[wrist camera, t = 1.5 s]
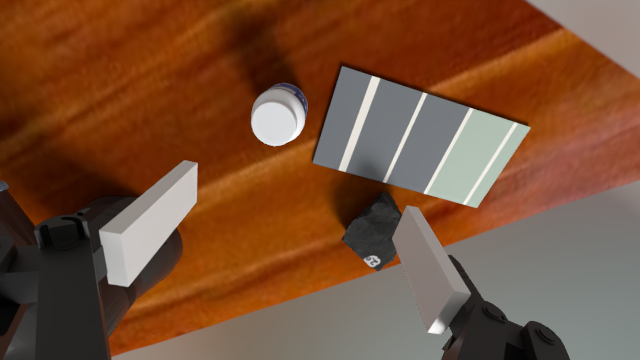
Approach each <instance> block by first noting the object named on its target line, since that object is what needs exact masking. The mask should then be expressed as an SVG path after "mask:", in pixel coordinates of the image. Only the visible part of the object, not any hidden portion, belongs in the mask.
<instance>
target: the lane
mask: <svg viewBox="0 0 640 360" xmlns="http://www.w3.org/2000/svg"><path fill="white" fill-rule="evenodd" d="M530 128H531V127H528V126H525V125H522V124H519V123H516V122H513V121H510V120H507V119H504V118H501V117H497V116H494V115H491V114H488V113H485V112H482V111H479V110H476V109H473V108H470V107H467V106H464V105H461V104H458V103H454V102H451V101H448V100H445V99H442V98H439V97H436V96H433V95H430V94H427V93H424V92H421V91H418V90H415V89H411V88H408V87H405V86H402V85H399V84H396V83H393V82H390V81H387V80H384V79H381V78H378V77H375V76H371V75H368V74H365V73H362V72H359V71H356V70H353V69H350V68H347V67H344V66H342V67H341V71H340V74H339V77H338V80H337V84H336V87H335V90H334V94H333V97H332V100H331V103H330V107H329V110H328V113H327V116H326V120H325V123H324V126H323V130H322V133H321V136H320V139H319V143H318V146H317V149H316V152H315V156H314V159H313V163H314V164H318V165H322V166H325V167H329V168H333V169H336V170H340V171H344V172H347V173H351V174H355V175H358V176H362V177H366V178H369V179H373V180H376V181H380V182H384V183H387V184H391V185H395V186H398V187H402V188H406V189H409V190H413V191H417V192H420V193H424V194H428V195H431V196H435V197H439V198H442V199H446V200H450V201H453V202H457V203H461V204H464V205H468V206H472V207H475V208H477V207H478V206H479V204H480V203H481V201H482V200H483V198H484V197H485V195H486V194H487V192H488V191H489V189H490V188H491V186H492V185H493V183H494V182H495V180H496V179H497V177H498V176H499V174H500V173H501V171H502V170H503V168H504V167H505V165H506V164H507V162H508V161H509V159H510V158H511V156H512V155H513V153H514V152H515V150H516V149H517V147H518V146H519V144H520V143H521V141H522V140H523V138H524V137H525V135H526V134H527V132H528V131H529V129H530Z"/></svg>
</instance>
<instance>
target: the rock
mask: <svg viewBox="0 0 640 360" xmlns="http://www.w3.org/2000/svg"><path fill="white" fill-rule="evenodd" d="M401 217H402V214H401V212H400V211H399V209H398V207H397V205H396V204H395V201H394V199H393V198H392V197H391V196H389V195H388V194H387V193H386V192H383V193H381V194H380V195H379V196H378V197H377V198H376V199H375V201H374V202H373V203H372V204H370V205H369V206H368V207H367V208H366V209H365V210H364V211H363V212H362V214H360V215H359V216H358V217H357V218H356V219H354V220H353V221H352V222H351V224H350V225H349V227H348V228H347V229H346V231H345V235H344V236H343V237H342V241H343V242H345V243H346V244H347V245H348V246H349V247H350V248H352V250H353V251H354V252H355V253H356V254H358V255H359V257H360V258H362V259H363V260H364V261H365V262H366V263H367V264H368V265H369V266H370V267H372V268H374V269H376V270H377V271H380V270H381V269H382V268H383V266H384V265H385V264H388V263H389V262H391V261H393V260H394V257H395V255H396V248H395V245H394V243H393V240H392V237H393V235H394V233H395V231H396V228H397V226H398V224H399V222H400V219H401Z"/></svg>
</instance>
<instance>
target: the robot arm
mask: <svg viewBox="0 0 640 360" xmlns="http://www.w3.org/2000/svg"><path fill="white" fill-rule="evenodd" d="M197 164H198V163H195V162H191V161H186V160H184V161H183V162H181V163H180V164H179V165H178V166H177V167H175V168H174V169H173V170H172V171H170V172H169V173H168V174H167V175H166V176H164V177H163V178H162V179H161V180H160V181H158V182H157V183H156V184H155V185H153V186H152V187H151V188H150V189H149V190H147V191H146V192H145V193H144V194H143V195H141V196H140V197H139V198H135V197H123V196H106V197H101V198H97V199H95V200H93V201H91V202H89V203H88V204H86V205H85V206H83V207H82V208H80V209H79V210H78V211H76V212H75V213H74V214H73V215H60V216H56V217H52V218H49V219H47V220H45V221H42V222H41V223H40V224H38V225H37V226H36V227H35V225H34V224H33V223H32V222H31V220H30V219H29V218H28V216H27V215H26V214H25V213H24V211H23V210H22V209H21V208H20V206H19V205H18V204H17V202H16V201H15V200H14V199H13V197H12V196H11V195H10V193H9V192H8V191H7V190H6V189H7V188H9V186H8V185H7V183H6V182H4V181H1V180H0V360H111V354H110V347H109V341H108V338H109V336H110V335H111V334H112V332H113V331H114V329H115V328H116V327H117V325H118V324H119V322H120V321H121V320H122V318H123V317H124V315H125V314H126V313H127V311H128V310H129V308H130V307H131V306H132V304H133V303H134V302H135V300H136V299H138V298H139V297H140V296H142V295H143V294H144V293H146V292H147V291H148V290H150V289H151V288H152V287H154V286H155V285H156V284H157V283H159V282H160V281H161V280H163V279H164V278H165V277H167V276H168V275H169V274H170V273H171V271H172V270H173V269H174V267H175V266H176V264H177V263H178V261H179V260H180V258H181V255H182V240H181V237H180V235H179V233H178V231H177V229H176V227H177V226H178V225H179V223H180V222H181V221H182V220H183V218H184V217H185V216H186V215H187V213H188V212H189V211H190V210H191V208H192V207H193V206H194V205H195V203H196V202H197ZM392 240H393V243H394V245H395V248H396V251H397V253H398V256H399V258H400V261H401V264H402V266H403V269H404V272H405V274H406V277H407V280H408V282H409V285H410V287H411V290H412V293H413V295H414V298H415V301H416V303H417V306H418V308H419V311H420V314H421V316H422V319H423V321H424V324H425V327H426V329H427V332H429V333H436V334H444V332H445V331H446V329H447V328H448V327H450V329H451V331H452V333H453V335H452V336H451V337H450V339H449V340H448V341H447V343H446V344H445V346H444V347H443V348H442V349H443V350H444V354H443V356H442V359H441V360H570V358H569V356H568V353H567V351H566V349H565V346H564V344H563V343H562V341H561V339H560V338H559V337H558V336H557V335H556V334H555V333H554V332H553V331H552V330H551V329H549V328H548V327H546V326H544V325H542V324H541V323H538V322H535V321H529V322H528V323H527V324H526V325H525V326H524V327H522V326H520V325H518V324H515V323H513V322H511V321H508V319H507V318H506V316H505V314H504V313H503V312H502V311H501V310H500V309H499V308H498V307H496V306H495V305H493V304H492V303H490V302H488V301H484V300H483V298H482V297H481V295H480V294H479V292H478V291H477V289H476V287H475V286H474V284H473V283H472V281H471V280H470V279H469V277H468V275H467V274H466V272H465V270H464V269H463V267H462V266H461V264H460V263H459V262H458V261H457V260H456V259H455V258H454V257H453V256H452V255H447V254H446V252H445V251H444V249H443V247H442V246H441V244H440V242H439V241H438V239H437V238H436V236H435V234H434V233H433V231H432V230H431V228H430V226H429V225H428V223H427V221H426V220H425V218H424V217H423V215H422V213H421V212H420V210H419V208H417V207H412V206H408V205H407V206H406V208H405V210H404V213H403V215H402V217H401V219H400V222H399V224H398V226H397V228H396V231H395V233H394V235H393V237H392Z"/></svg>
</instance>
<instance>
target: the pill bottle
mask: <svg viewBox="0 0 640 360" xmlns="http://www.w3.org/2000/svg"><path fill="white" fill-rule="evenodd" d="M307 108H308V106H307V100H306V98H305V96H304V94H303V93H302V91H301V90H300V89H299V88H297V87H296V86H294V85H292V84H288V83H279V84H276V85H274V86H272V87H271V88H269V89H268V90H267V91H265V92H264V93H262V94H261V95H260V96H259V97H258V98H257V99H256V101H255V103H254V105H253V108H252V119H251V125H252V129H253V132H254V134H255V135H256V137H257V138H258V139H259V140H261V141H262V142H263V143H265V144H268V145H272V146H279V145H283V144H285V143H287V142H289V141H291V140H293V139H295V138H296V137H297V136H298V135H299V134H300V132H301V131H302V129H303V127H304V123H305V119H306V114H307Z"/></svg>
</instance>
